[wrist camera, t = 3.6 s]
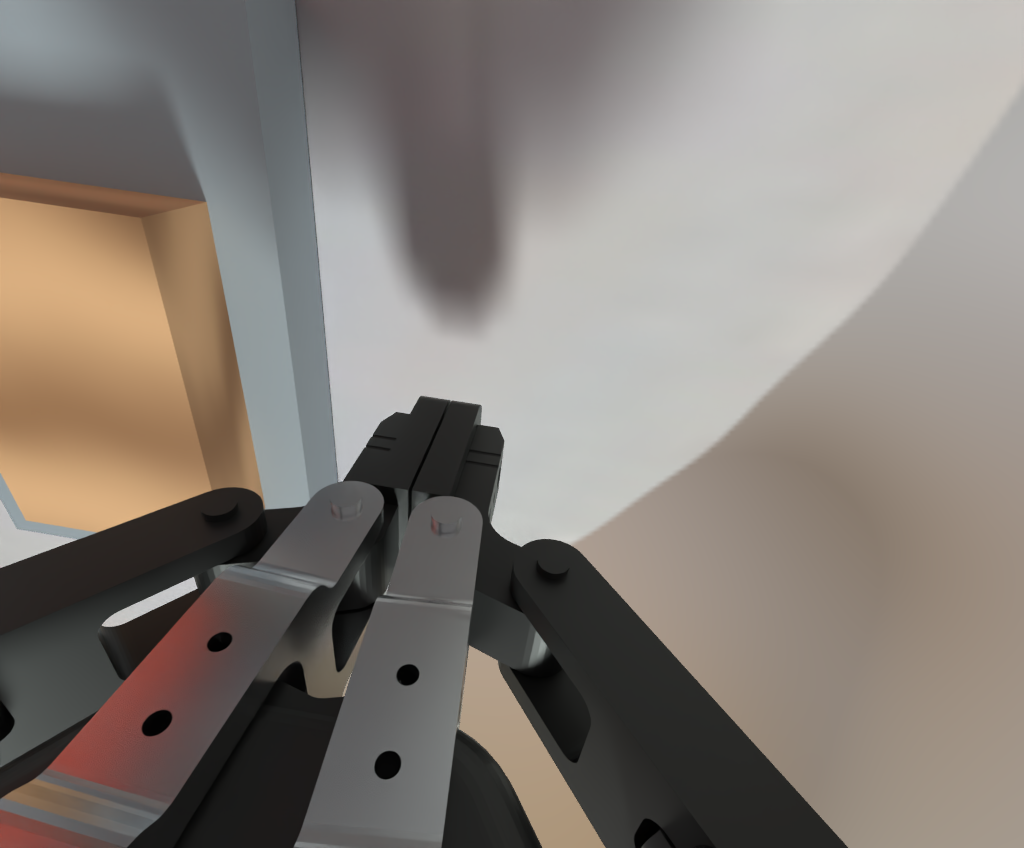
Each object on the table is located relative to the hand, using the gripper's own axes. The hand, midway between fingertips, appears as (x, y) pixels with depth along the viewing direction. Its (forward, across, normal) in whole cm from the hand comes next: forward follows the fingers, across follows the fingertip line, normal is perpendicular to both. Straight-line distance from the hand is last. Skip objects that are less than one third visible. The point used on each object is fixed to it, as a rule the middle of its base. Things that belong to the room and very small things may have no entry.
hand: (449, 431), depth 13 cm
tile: (0, +9, 0) cm, 9 cm away
